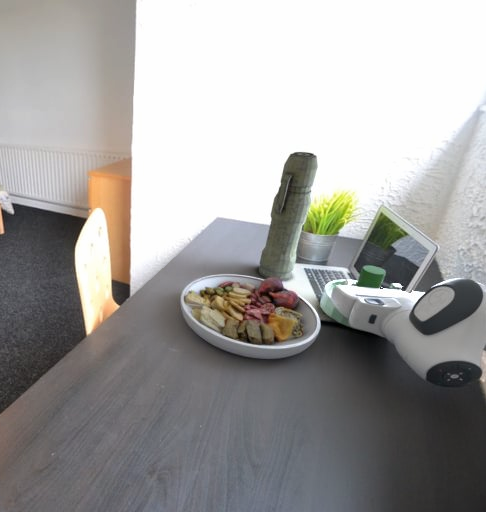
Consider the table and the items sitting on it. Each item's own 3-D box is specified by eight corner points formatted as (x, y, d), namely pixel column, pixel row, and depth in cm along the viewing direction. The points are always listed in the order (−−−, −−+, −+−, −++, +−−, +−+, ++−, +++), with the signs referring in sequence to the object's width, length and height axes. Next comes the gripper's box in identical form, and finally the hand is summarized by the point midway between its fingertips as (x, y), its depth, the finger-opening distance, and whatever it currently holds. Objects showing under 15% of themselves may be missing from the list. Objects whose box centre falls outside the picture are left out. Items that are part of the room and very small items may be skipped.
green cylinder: (363, 308, 92) (380, 266, 86) (372, 318, 88) (390, 275, 82) (344, 306, 93) (359, 264, 87) (351, 316, 89) (367, 273, 83)
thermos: (299, 272, 109) (332, 152, 93) (279, 285, 103) (311, 159, 87) (270, 261, 116) (296, 148, 100) (249, 273, 109) (274, 154, 93)
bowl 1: (275, 390, 69) (285, 359, 66) (153, 319, 90) (156, 291, 87) (336, 326, 86) (346, 298, 83) (221, 278, 107) (225, 254, 104)
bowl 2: (378, 299, 96) (385, 282, 94) (414, 339, 82) (422, 320, 80) (310, 293, 99) (315, 277, 97) (333, 330, 85) (339, 312, 83)
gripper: (471, 312, 70) (427, 276, 82) (351, 300, 75) (326, 268, 87) (456, 338, 73) (416, 300, 85) (342, 325, 77) (319, 291, 89)
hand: (370, 284), depth 86 cm, fingers open, 8 cm apart
